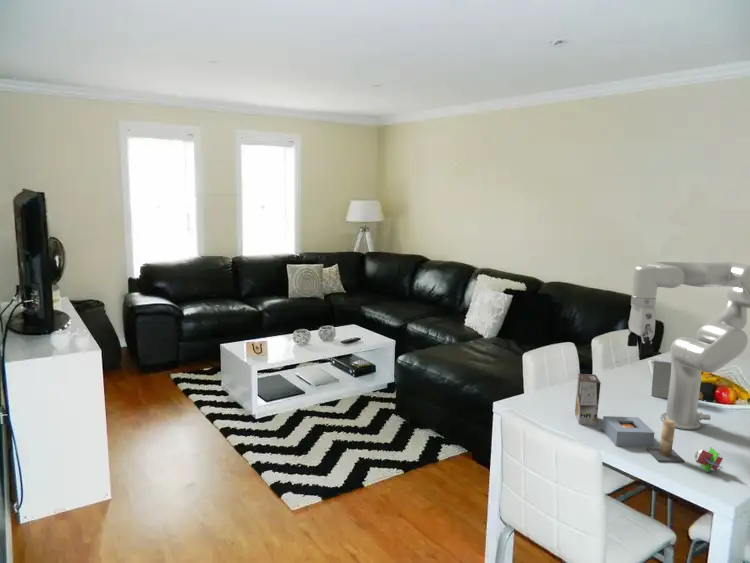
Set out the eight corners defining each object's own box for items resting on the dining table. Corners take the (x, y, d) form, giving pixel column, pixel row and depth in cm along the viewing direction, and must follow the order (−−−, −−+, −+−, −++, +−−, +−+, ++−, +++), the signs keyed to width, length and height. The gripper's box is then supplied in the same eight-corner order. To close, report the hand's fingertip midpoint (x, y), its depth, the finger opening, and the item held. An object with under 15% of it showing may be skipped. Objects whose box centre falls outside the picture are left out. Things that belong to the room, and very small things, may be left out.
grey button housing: (636, 430, 190) (638, 417, 189) (652, 446, 178) (654, 432, 177) (602, 429, 190) (603, 416, 189) (615, 445, 179) (617, 431, 178)
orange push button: (630, 434, 186) (631, 423, 185) (635, 439, 182) (636, 428, 181) (618, 433, 186) (619, 423, 186) (623, 439, 182) (624, 428, 182)
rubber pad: (671, 450, 176) (671, 448, 176) (684, 462, 168) (684, 460, 168) (646, 449, 176) (646, 447, 176) (658, 461, 168) (658, 460, 168)
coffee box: (597, 426, 193) (601, 382, 190) (578, 424, 195) (581, 381, 192) (592, 415, 202) (596, 374, 199) (574, 413, 203) (577, 372, 201)
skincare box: (674, 395, 223) (678, 358, 221) (673, 400, 218) (677, 363, 215) (651, 391, 228) (655, 354, 225) (649, 396, 222) (653, 359, 219)
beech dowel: (667, 451, 174) (672, 419, 172) (673, 456, 170) (677, 424, 168) (656, 451, 174) (661, 419, 172) (662, 456, 171) (666, 423, 168)
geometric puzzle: (720, 458, 167) (706, 438, 166) (734, 469, 160) (720, 448, 159) (699, 470, 168) (686, 451, 167) (712, 482, 161) (698, 462, 160)
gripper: (667, 307, 176) (661, 358, 179) (642, 296, 193) (638, 343, 196) (643, 307, 177) (638, 357, 180) (621, 296, 194) (617, 342, 197)
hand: (638, 350), depth 188 cm, fingers open, 9 cm apart
